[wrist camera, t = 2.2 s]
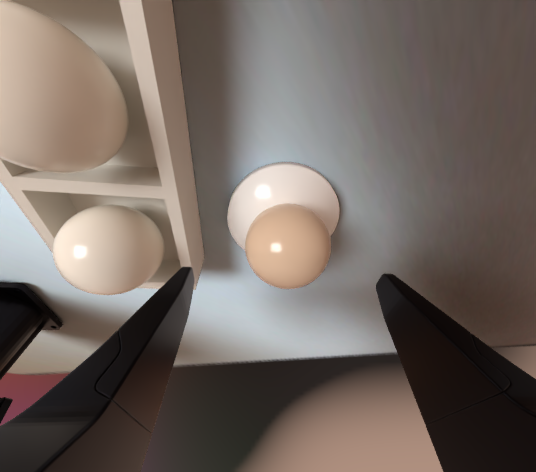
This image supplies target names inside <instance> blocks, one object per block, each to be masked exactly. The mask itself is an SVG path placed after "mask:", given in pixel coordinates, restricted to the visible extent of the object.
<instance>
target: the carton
mask: <svg viewBox="0 0 536 472" xmlns="http://www.w3.org/2000/svg"><path fill="white" fill-rule="evenodd" d="M8 1H12V2H15V3H18V4H20V5H23V6H26V7H29V8H32V9H34V10H36V11H38V12H40V13H42V14H44V15H46V16H48V17H50V18H52V19H54V20H55V21H57V22H59V23H60V24H62V25H63V26H65V27H66V28H68V29H69V30H70V31H72V32H73V33H74V34H76V35H77V36H78V37H79V38H81V39H82V40H83V41H84V42H85V43H86V44H88V45H89V46H90V47H91V48H92V49H93V50H94V51H95V52H96V53H97V55H98V56H99V57H100V58H101V59H102V60H103V62H104V63H105V64H106V65H107V67H108V68H109V70H110V71H111V72H112V74H113V75H114V77H115V79H116V81H117V82H118V84H119V86H120V88H121V91H122V93H123V96H124V99H125V102H126V106H127V111H128V131H127V135H126V139H125V141H124V144H123V145H122V147H121V148H120V150H119V151H118V153H117V154H116V155H115V156H114V157H113V158H112V159H110V160H109V161H108V162H106V163H105V164H103V165H101V166H98V167H96V168H94V169H90V170H87V171H83V172H76V173H50V172H43V171H38V170H34V169H29V168H25V167H22V166H19V165H16V164H13V163H11V162H8V161H6V160H3V159H1V158H0V181H1V183H2V184H3V186H4V187H5V188H6V190H7V191H8V192H9V194H10V195H11V197H12V198H13V199H14V201H15V202H16V203H17V205H18V206H19V208H20V209H21V210H22V212H23V213H24V214H25V216H26V217H27V219H28V220H29V221H30V223H31V224H32V225H33V227H34V228H35V230H36V231H37V232H38V234H39V235H40V236H41V238H42V239H43V241H44V242H45V243H46V245H47V246H48V247H49V249H50V250H51V252H52V253H53V244H54V240H55V237H56V235H57V233H58V231H59V230H60V228H61V227H62V226H63V225H64V223H65V222H66V221H68V220H69V219H70V218H71V217H73V216H74V215H75V214H77V213H79V212H81V211H83V210H85V209H88V208H91V207H95V206H99V205H122V206H127V207H130V208H133V209H136V210H138V211H140V212H142V213H143V214H145V215H146V216H148V217H149V218H150V219H151V220H152V221H153V222H154V223H155V224H156V225H157V227H158V228H159V230H160V232H161V234H162V237H163V240H164V256H163V260H162V262H161V265H160V267H159V268H158V270H157V271H156V273H155V274H154V275H153V276H152V277H151V278H150V279H149V280H148V281H147V282H146V283H144V284H142V285H141V286H139V287H137V288H156V289H160V288H161V287H162V286H163V285H164V284H165V283H166V282H167V281H168V280H169V279H170V278H171V277H172V276H173V275H174V274H175V273H176V272H177V271H178V270H179V269H180V268H181V267H192V269H193V274H194V288H193V289H194V290H196V286H197V283H198V279H199V276H200V272H201V268H202V265H203V261H204V249H203V241H202V233H201V225H200V217H199V210H198V202H197V194H196V186H195V178H194V170H193V162H192V155H191V147H190V139H189V131H188V123H187V115H186V108H185V100H184V92H183V84H182V76H181V68H180V61H179V53H178V45H177V37H176V29H175V21H174V14H173V6H172V0H8Z"/></svg>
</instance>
